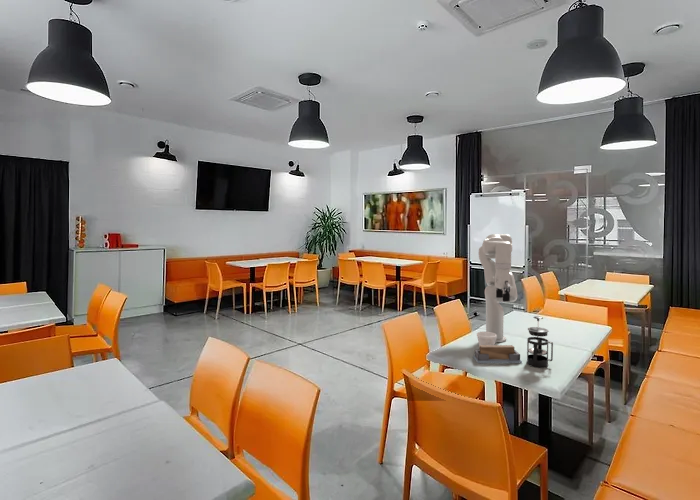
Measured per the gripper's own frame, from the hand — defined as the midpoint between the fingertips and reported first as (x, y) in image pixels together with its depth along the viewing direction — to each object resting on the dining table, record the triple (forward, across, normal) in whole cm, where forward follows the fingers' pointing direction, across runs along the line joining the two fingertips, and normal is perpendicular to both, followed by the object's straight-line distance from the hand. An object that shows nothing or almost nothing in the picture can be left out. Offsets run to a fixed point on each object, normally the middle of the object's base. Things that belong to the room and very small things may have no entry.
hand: (502, 299), depth 198 cm
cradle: (+28, +10, -6) cm, 31 cm away
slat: (+27, +10, -6) cm, 30 cm away
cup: (+28, -3, -7) cm, 30 cm away
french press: (+28, +16, +12) cm, 35 cm away
